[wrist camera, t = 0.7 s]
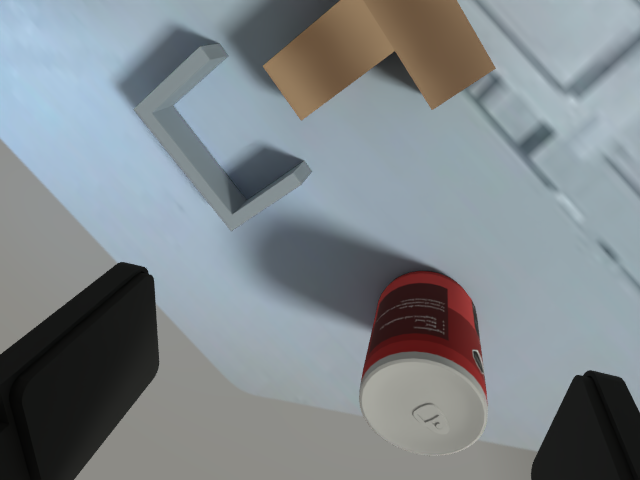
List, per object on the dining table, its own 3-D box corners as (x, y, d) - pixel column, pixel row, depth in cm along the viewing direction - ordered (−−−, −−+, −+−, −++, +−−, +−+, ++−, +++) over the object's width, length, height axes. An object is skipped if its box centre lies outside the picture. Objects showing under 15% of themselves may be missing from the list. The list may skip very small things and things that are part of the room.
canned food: (438, 364, 40) (437, 475, 31) (360, 314, 40) (334, 411, 30) (498, 304, 37) (519, 409, 27) (412, 249, 36) (402, 336, 27)
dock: (219, 43, 33) (200, 46, 30) (312, 171, 35) (301, 184, 33) (156, 102, 36) (133, 109, 33) (245, 216, 38) (231, 231, 36)
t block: (383, -121, 27) (374, -141, 23) (489, 61, 29) (495, 68, 26) (245, 8, 31) (221, 7, 28) (348, 155, 34) (337, 171, 31)
